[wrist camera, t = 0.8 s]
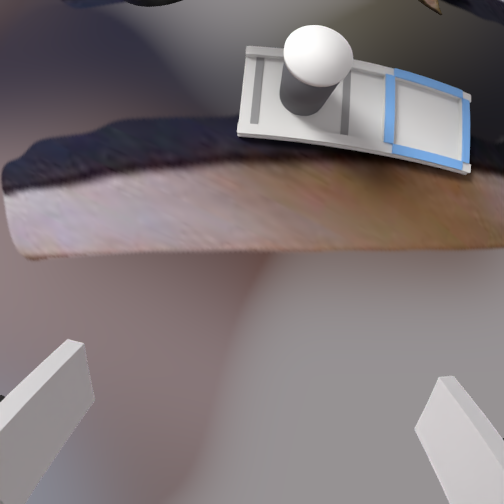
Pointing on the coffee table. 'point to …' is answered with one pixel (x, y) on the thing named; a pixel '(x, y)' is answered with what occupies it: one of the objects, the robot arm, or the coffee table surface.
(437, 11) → the ceramic sculpture
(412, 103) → the white divided tray
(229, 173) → the coffee table surface
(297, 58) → the grey and white cylinder
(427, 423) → the robot arm
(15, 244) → the coffee table surface
